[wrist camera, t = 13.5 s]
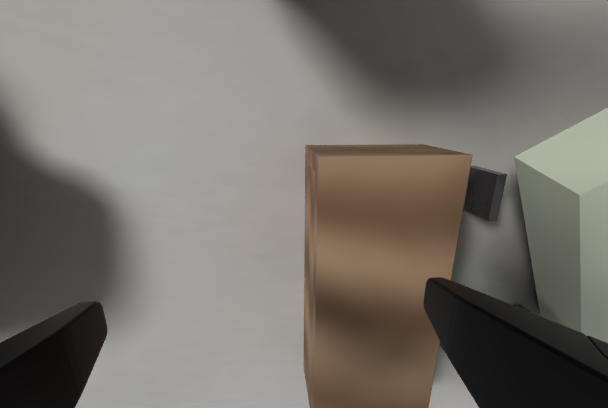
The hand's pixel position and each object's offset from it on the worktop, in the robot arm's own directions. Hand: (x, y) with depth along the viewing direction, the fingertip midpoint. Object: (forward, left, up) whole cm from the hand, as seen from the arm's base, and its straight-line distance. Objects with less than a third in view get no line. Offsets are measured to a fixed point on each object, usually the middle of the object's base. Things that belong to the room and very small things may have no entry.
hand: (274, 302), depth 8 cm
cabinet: (+6, +6, -12) cm, 15 cm away
